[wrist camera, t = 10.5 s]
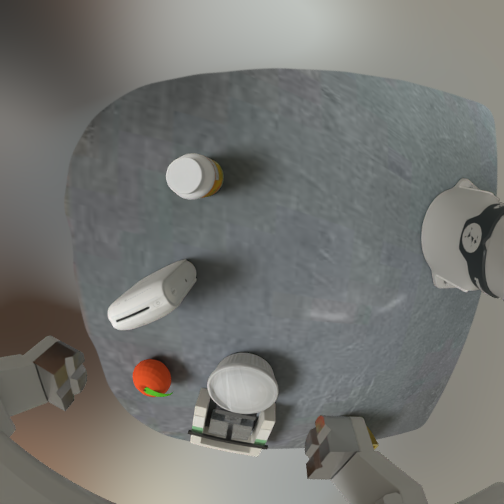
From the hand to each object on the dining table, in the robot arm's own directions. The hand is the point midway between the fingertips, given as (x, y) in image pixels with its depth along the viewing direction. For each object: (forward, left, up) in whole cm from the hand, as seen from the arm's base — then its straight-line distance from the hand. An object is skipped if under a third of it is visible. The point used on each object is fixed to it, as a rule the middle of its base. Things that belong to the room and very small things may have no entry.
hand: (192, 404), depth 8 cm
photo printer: (+11, +10, -31) cm, 35 cm away
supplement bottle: (+8, -6, -31) cm, 33 cm away
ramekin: (-4, +24, -31) cm, 40 cm away
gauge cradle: (-4, +36, -31) cm, 48 cm away
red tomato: (+11, +28, -31) cm, 43 cm away
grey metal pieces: (-4, +35, -31) cm, 47 cm away
